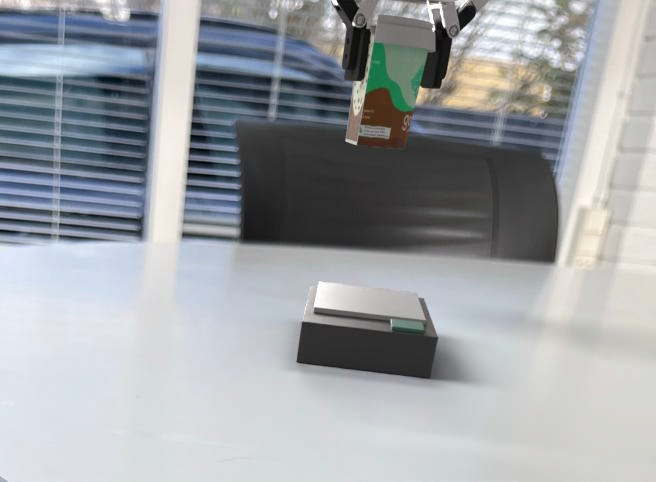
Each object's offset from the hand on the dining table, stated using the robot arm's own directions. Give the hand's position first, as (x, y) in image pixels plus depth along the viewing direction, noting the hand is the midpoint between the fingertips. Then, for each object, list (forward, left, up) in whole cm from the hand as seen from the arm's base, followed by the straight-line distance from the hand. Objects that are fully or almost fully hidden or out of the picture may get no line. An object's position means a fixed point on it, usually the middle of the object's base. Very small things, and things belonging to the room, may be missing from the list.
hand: (392, 82), depth 95 cm
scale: (+7, +18, -20) cm, 28 cm away
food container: (0, 0, -5) cm, 5 cm away
